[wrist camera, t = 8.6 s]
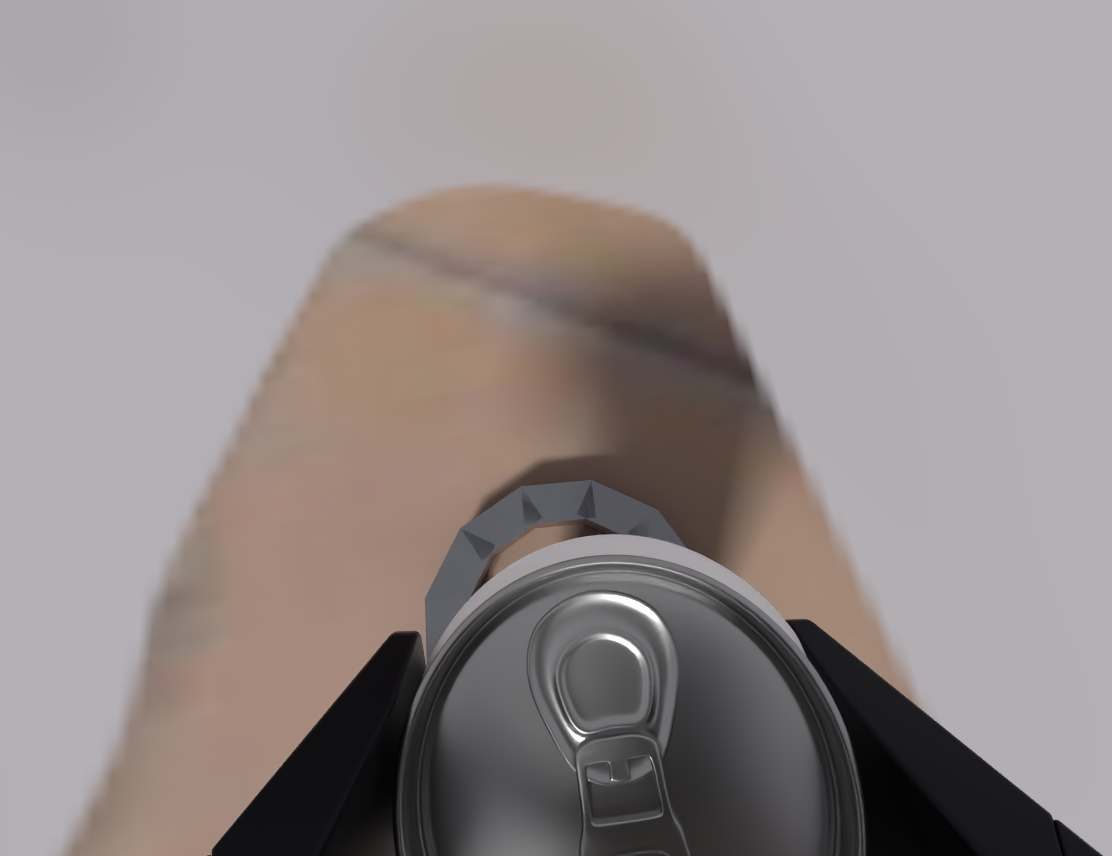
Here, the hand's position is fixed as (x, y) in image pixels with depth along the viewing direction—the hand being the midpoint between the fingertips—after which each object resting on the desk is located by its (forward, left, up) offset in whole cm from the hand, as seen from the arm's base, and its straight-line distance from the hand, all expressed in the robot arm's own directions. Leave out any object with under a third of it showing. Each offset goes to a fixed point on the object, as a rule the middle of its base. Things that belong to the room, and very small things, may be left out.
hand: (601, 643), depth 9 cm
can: (-1, -1, -10) cm, 10 cm away
